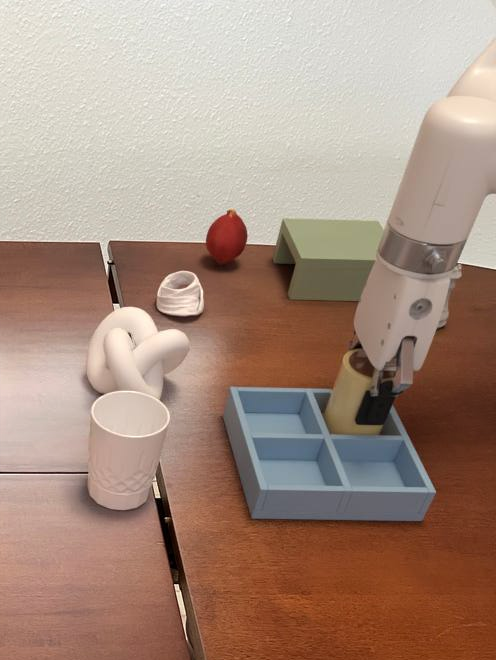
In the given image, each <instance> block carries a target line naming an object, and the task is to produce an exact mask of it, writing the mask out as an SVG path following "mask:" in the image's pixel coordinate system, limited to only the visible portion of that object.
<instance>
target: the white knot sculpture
mask: <svg viewBox="0 0 496 660" xmlns="http://www.w3.org/2000/svg"><path fill="white" fill-rule="evenodd" d="M131 336H132V337H131ZM132 339H133V340H132ZM133 341H134V343H133ZM189 351H190V340H189V338H188V337H187V335H186V333H185V332H183V331H181V330H179V329H177V328H170V329H169V328H168V329H165V330H160V331H159V330H158V328H157V325H156V323H155V321H154V320H153V318H152V316H151V315H150V314H149V313H148V312H147V311H145V310H144V309H142V308H140V307H135V306H123V307H120V308H117V309H115V310H113V311H111V313H109V314H108V315H107V316H106V317H104V318H103V320H102V321H100V323H99V325H98V326H97V328H96V329H95V331H94V333H93V334H92V336H91V339H90V341H89V344H88V347H87V351H86V355H85V371H86V372H85V373H86V376H87V380H88V381H89V383H90V385H91V386H92V388H93V389H94V390H95V391H96V392H98V393H100V394H103V395H105V394H107V393H111V392H115V391H136V392H141V393H145V394H148V395H150V396H152V397H154V398H156V399H158V400H159V401H161V397H162V394H163V387H164V376H166V375H168V374H170V373H171V372H173V371H174V370H176V369H177V368H178V367H179V366H180V365H182V363H183V362H184V360H185V359H186V357H187V356H188V353H189Z"/></svg>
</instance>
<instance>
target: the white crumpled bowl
mask: <svg viewBox="0 0 496 660" xmlns="http://www.w3.org/2000/svg"><path fill="white" fill-rule="evenodd" d="M184 286H187V287H184ZM182 287H184V288H182ZM204 306H205V300H204V290H203V287H202V285H201V282H200V281H199V278H198V276H197V274H195V273H194V272H192V271H188V270H179V271H176V272H173V273H170V274H168V275H167V276H166V277H165V278H164V279H163V280H162V282H161V283H160V285H159V288H158V290H157V294H156V308H157V310H158V311H159V312H161V313H163V314H166V315H169V316H177V317H188V316H198V315H200V314H201V313H203V312H204Z"/></svg>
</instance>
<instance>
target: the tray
mask: <svg viewBox="0 0 496 660" xmlns="http://www.w3.org/2000/svg"><path fill="white" fill-rule="evenodd" d="M331 391H332V388H311V387H309V388H307V387H262V386H261V387H260V386H259V387H257V386H230V387H229V388H228V392H227V396H226V401H225V405H224V409H223V412H222V419H223V421H224V426H225V429H226V433H227V436H228V439H229V444H230V447H231V450H232V454H233V458H234V462H235V464H236V469H237V472H238V476H239V478H240V479H239V480H240V482H241V487H242V489H243V490H242V491H243V493H244V498H245V500H246V504H247V507H248V511H249V515H250V518H251V519H253V520H254V519H255V520H257V519H259V520H316V521H318V520H320V521H321V520H322V521H324V520H325V521H381V522H382V521H384V522H385V521H386V522H387V521H388V522H422V521H423V520H424V519H425V516H426V514H427V512H428V509H429V508H430V506H431V504H432V502H433V500H434V498H435V496H436V494H437V491H436V488H435V486H434V485H433V482H432V480H431V478H430V477H429V475H428V473H427V471H426V469H425V466H424V464H423V463H422V460H421V459H420V456H419V454H418V452H417V451H416V448H415V447H414V444H413V443H412V442H413V441H412V440H411V439H410V436H409V435H408V432H407V430H406V428H405V426H404V424H403V422H402V421H401V418H400V415H399V414H398V412H397V410H396V408H395V407H394V404H393V405H392V407H391V409H390V412H389V414H388V417H387V419H386V421H385V423H384V425H383V427H382V430H381V432H380V435H334V434H329V431H328V429H327V426H326V424H325V421H324V419H323V414H324V411H325V408H326V405H327V402H328V400H329V397H330V394H331Z"/></svg>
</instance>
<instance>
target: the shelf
mask: <svg viewBox="0 0 496 660" xmlns="http://www.w3.org/2000/svg"><path fill="white" fill-rule="evenodd" d="M383 232H384V228H383V226H382V224H381V223H380V222H379V220H361V219H359V220H357V219H354V220H353V219H320V218H319V219H318V218H317V219H316V218H313V219H312V218H289V217H288V218H282V219H281V223H280V227H279V232H278V235H277V239H276V243H275V247H274V251H273V255H272V261H273V263H274V264H282V265H283V264H285V265H287V264H288V265H295V266H294V270H293V273H292V277H291V280H290V283H289V287H288V290H287V294H286V295H287V297H288V299H289V301H290V300H292V301H293V300H294V301H295V300H296V301H329V302H331V301H332V302H333V301H334V302H335V301H336V302H337V301H338V302H359V300H360V298H361V295H362V292H363V290H364V287H365V285H366V282H367V280H368V277H369V275H370V272H371V270H372V268H373V266H374V263H375V261H376V259H377V257H376V251H377V249H378V246H379V243H380V240H381V237H382V234H383Z"/></svg>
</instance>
